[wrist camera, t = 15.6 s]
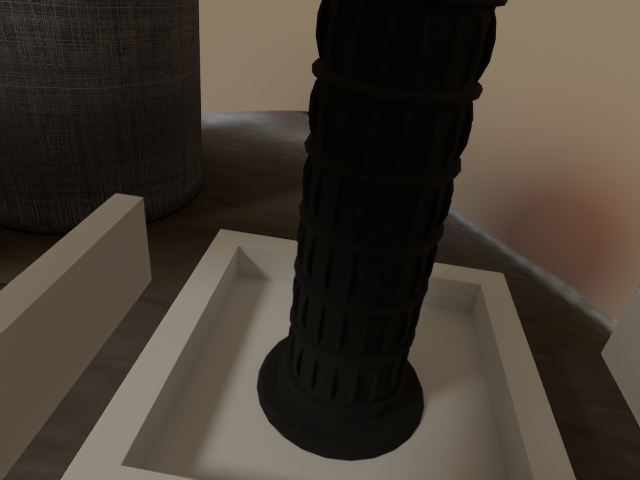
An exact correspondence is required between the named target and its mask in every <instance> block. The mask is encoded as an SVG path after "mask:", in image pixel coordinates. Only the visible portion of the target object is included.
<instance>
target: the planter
mask: <svg viewBox="0 0 640 480" xmlns="http://www.w3.org/2000/svg"><path fill="white" fill-rule="evenodd" d="M200 89H201V88H200V42H199V0H0V225H3V226H6V227H10V228H14V229H19V230H24V231H31V232H39V233H53V234H68V233H69V232H70V231H72V230H73V229H74V228H75V227H76V226H77V225H79V224H80V223H81V222H82V221H83V220H85V219H86V218H87V217H88V216H89V215H90V214H92V213H93V212H94V211H95V210H96V209H98V208H99V207H100V206H101V205H102V204H103V203H105V202H106V201H107V200H108V199H109V198H111V197H112V196H113V195H114V194H115V193H118V194H124V195H131V196H138V197H143V201H144V211H145V221H146V222H149V221H152V220H155V219H158V218H161V217H163V216H165V215H168V214H170V213H172V212H174V211H176V210H178V209H179V208H181V207H183V206H184V205H185V204H187V203H188V202H189V201H191V200H192V199H193V198H194V197H195V196H196V194H197V193H198V192H199V190H200V188H201V186H202V181H203V177H202V150H201V91H200Z"/></svg>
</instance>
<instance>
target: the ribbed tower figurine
mask: <svg viewBox="0 0 640 480" xmlns="http://www.w3.org/2000/svg"><path fill="white" fill-rule="evenodd" d="M507 1H508V0H322V1H321V4H320V7H319V10H318V15H317V26H316V40H317V46H318V52H319V57H320V58H318V59H317V60H316V61H315V62H314V63H313V64H312V72H313V74H314V76H315V77H317V80H316V81H315V84H314V86H313V89H312V92H311V95H310V104H309V112H308V115H309V125H310V131H311V133H310V134H309V136H308V138H307V139H306V141H305V143H304V145H305V149H306V152H307V153H308V154H309V155H308V157H307V160H306V162H305V164H304V170H303V179H302V184H303V193H302V194H303V199H302V201H301V203H300V205H299V210H300V218H301V221H300V224H299V227H298V235H297V243H298V245H297V256H296V258H295V262H294V269H295V277H294V280H293V289H292V291H293V302H292V306H291V308H290V318H289V320H290V323H291V325H290V327H289V335H288V336H287V337H285V338H284V339H282V340H281V341H279V342H278V343H277V344H276V345H275V346H274V347H273V348H272V350H271V351H270V352H269V353H268V354H267V355H266V357H265V359H264V361H263V363H262V365H261V367H260V370H259V374H258V380H257V392H258V398H259V403H260V406H261V408H262V410H263V412H264V414H265V416H266V417H267V419H268V421H269V423H270V424H271V425H272V426H273V427H274V428H275V429H276V430H277V431H278V432H279V433H280V434H281V435H282V436H283V437H284V438H285V439H287V440H289V441H290V442H292V443H293V444H295V445H296V446H298V447H299V448H301V449H302V450H305V451H307V452H310V453H313V454H316V455H318V456H321V457H324V458H328V459H336V460H345V461H356V460H365V459H374V458H377V457H379V456H382V455H384V454H387V453H389V452H392V451H394V450H395V449H397V448H398V447H399V446H401V445H402V444H403V443H405V442H406V441H407V440H409V439H410V438H411V436H412V435H413V433H414V432H415V430H416V429H417V427H418V426H419V424H420V422H421V418H422V414H423V410H424V396H423V389H422V386H421V384H420V381H419V378H418V376H417V374H416V371H415V369H414V368H413V366H412V365H411V364H410V362H409V361H408V360H407V358H408V355H409V351H410V347H411V346H412V344H413V341H414V338H415V335H416V329H415V328H416V327H417V324H418V320H419V316H420V310H421V307H422V304H423V299H424V297H425V295H426V293H427V291H428V283H429V277H430V276H431V273H432V269H433V265H434V260H435V256H436V253H437V242H438V241H439V240H440V239H441V238H442V236H443V233H444V225H443V222H444V220H445V219H446V217H447V215H448V212H449V208H450V204H451V198H452V194H453V191H454V186H453V179H454V178H455V177H456V176H457V175H458V174H459V173H460V171H461V159H460V158H459V157H460V155H461V154H462V152H463V151H464V149H465V147H466V146H467V143H468V138H469V135H470V131H471V127H472V121H473V102H472V101H473V100H476V99H478V98H479V97H480V95H481V93H482V90H483V88H482V85H480V83H479V82H478V80H479V79H480V77H481V76H482V74H483V72H484V70H485V69H486V67H487V65H488V64H489V62H490V59H491V55H492V51H493V48H494V44H495V40H496V16H495V11H494V10H495V8H496V7H497V6H504V5H505V4H506V2H507Z"/></svg>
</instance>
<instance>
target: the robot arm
mask: <svg viewBox="0 0 640 480" xmlns="http://www.w3.org/2000/svg"><path fill="white" fill-rule="evenodd" d="M151 280H152V279H151V269H150V260H149V250H148V240H147V230H146V221H145V211H144V201H143V197H138V196H131V195H124V194H118V193H115V194H114V195H113V196H112V197H111V198H109V199H108V200H107V201H106V202H105V203H103V204H102V205H101V206H100V207H99V208H98V209H96V210H95V211H94V212H93V213H92V214H90V215H89V216H88V217H87V218H86V219H85V220H83V221H82V222H81V223H80V224H79V225H77V226H76V227H75V228H74V229H73V230H72V231H70V232H69V233H68V234H67V235H66V236H64V237H63V238H62V239H61V240H60V241H59V242H57V243H56V244H55V245H54V246H53V247H51V248H50V249H49V250H48V251H47V252H46V253H44V254H43V255H42V256H41V257H40V258H38V259H37V260H36V261H35V262H34V263H33V264H31V265H30V266H29V267H28V268H27V269H25V270H24V271H23V272H22V273H21V274H20V275H18V276H17V277H16V278H15V279H14V280H12V281H11V282H10V283H9V284H5V283H0V480H3V478H4V477H5V476H6V474H7V473H8V472H9V470H10V469H11V467H12V466H13V465H14V463H15V462H16V461H17V459H18V458H19V457H20V455H21V454H22V453H23V451H24V450H25V449H26V447H27V446H28V445H29V443H30V442H31V441H32V439H33V438H34V437H35V435H36V434H37V433H38V431H39V430H40V429H41V427H42V426H43V425H44V423H45V422H46V421H47V419H48V418H49V417H50V415H51V414H52V413H53V411H54V410H55V409H56V407H57V406H58V405H59V403H60V402H61V401H62V399H63V398H64V397H65V395H66V394H67V393H68V391H69V390H70V389H71V387H72V386H73V385H74V383H75V382H76V381H77V379H78V378H79V377H80V375H81V374H82V373H83V371H84V370H85V369H86V367H87V366H88V365H89V363H90V362H91V361H92V359H93V358H94V357H95V355H96V354H97V353H98V351H99V350H100V349H101V347H102V346H103V345H104V343H105V342H106V341H107V339H108V338H109V336H110V335H111V334H112V332H113V331H114V330H115V328H116V327H117V326H118V324H119V323H120V322H121V320H122V319H123V318H124V316H125V315H126V314H127V312H128V311H129V310H130V308H131V307H132V306H133V304H134V303H135V302H136V300H137V299H138V298H139V296H140V295H141V294H142V292H143V291H144V290H145V288H146V287H147V286H148V284H149V283H150V282H151ZM601 355H602V357H603V359H604V360H605V362H606V364H607V366H608V368H609V370H610V372H611V374H612V375H613V377H614V379H615V381H616V383H617V385H618V387H619V389H620V390H621V392H622V394H623V396H624V398H625V400H626V402H627V404H628V406H629V407H630V409H631V411H632V413H633V415H634V417H635V419H636V421H637V422H638V424H639V426H640V285H639V287H638V288H637V290H636V292H635V294H634V296H633V297H632V299H631V301H630V303H629V304H628V306H627V308H626V310H625V311H624V313H623V315H622V317H621V319H620V320H619V322H618V324H617V326H616V327H615V329H614V331H613V333H612V335H611V336H610V338H609V340H608V342H607V343H606V345H605V347H604V349H603V351H602V352H601Z"/></svg>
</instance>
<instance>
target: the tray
mask: <svg viewBox="0 0 640 480" xmlns="http://www.w3.org/2000/svg"><path fill="white" fill-rule="evenodd" d="M297 245H298V243H297V241H294V240H288V239H281V238H275V237H268V236H262V235H256V234H249V233H243V232H237V231H230V230H224V229H220V231H219V232H218V234H217V235H216V237H215V239H214V240H213V242H212V243H211V245H210V246H209V248H208V250H207V251H206V253H205V254H204V256H203V257H202V259H201V261H200V262H199V264H198V265H197V267H196V268H195V270H194V272H193V273H192V275H191V276H190V278H189V279H188V281H187V282H186V284H185V286H184V287H183V289H182V290H181V292H180V293H179V295H178V297H177V298H176V300H175V301H174V303H173V304H172V306H171V308H170V309H169V311H168V312H167V314H166V315H165V317H164V319H163V320H162V322H161V323H160V325H159V326H158V328H157V330H156V331H155V333H154V334H153V336H152V337H151V339H150V341H149V342H148V344H147V345H146V347H145V348H144V350H143V351H142V353H141V355H140V356H139V358H138V359H137V361H136V362H135V364H134V366H133V367H132V369H131V370H130V372H129V373H128V375H127V377H126V378H125V380H124V381H123V383H122V384H121V386H120V388H119V389H118V391H117V392H116V394H115V395H114V397H113V399H112V400H111V402H110V403H109V405H108V406H107V408H106V409H105V411H104V413H103V414H102V416H101V417H100V419H99V420H98V422H97V424H96V425H95V427H94V428H93V430H92V431H91V433H90V435H89V436H88V438H87V439H86V441H85V442H84V444H83V446H82V447H81V449H80V450H79V452H78V453H77V455H76V457H75V458H74V460H73V461H72V463H71V464H70V466H69V467H68V469H67V471H66V472H65V474H64V475H63V477H62V478H61V480H576V478H575V475H574V472H573V470H572V467H571V464H570V461H569V458H568V455H567V453H566V450H565V447H564V444H563V441H562V438H561V436H560V433H559V430H558V427H557V424H556V421H555V419H554V416H553V413H552V410H551V407H550V404H549V402H548V399H547V396H546V393H545V390H544V387H543V385H542V382H541V379H540V376H539V373H538V370H537V368H536V365H535V362H534V359H533V356H532V354H531V351H530V348H529V345H528V342H527V339H526V337H525V334H524V331H523V328H522V325H521V322H520V320H519V317H518V314H517V311H516V308H515V305H514V303H513V300H512V297H511V294H510V291H509V288H508V286H507V283H506V280H505V277H504V274H503V273H498V272H492V271H485V270H479V269H473V268H466V267H460V266H453V265H447V264H441V263H434V265H433V269H432V273H431V276H430V277H429V283H428V291H427V293H426V295H425V297H424V299H423V304H422V307H421V310H420V316H419V320H418V324H417V327H416V328H415V329H416V335H415V338H414V341H413V344H412V346H411V347H410V351H409V355H408V358H407V360H408V361H409V362H410V364H411V365H412V366H413V368H414V369H415V371H416V374H417V376H418V378H419V381H420V384H421V386H422V389H423V396H424V410H423V414H422V418H421V422H420V424H419V426H418V427H417V429H416V430H415V432H414V433H413V435H412V436H411V438H410V439H409V440H407V441H406V442H405V443H403V444H402V445H401V446H399V447H398V448H397V449H395V450H394V451H392V452H389V453H387V454H384V455H382V456H379V457H377V458H374V459H365V460H356V461H345V460H336V459H328V458H324V457H321V456H318V455H316V454H313V453H310V452H307V451H305V450H302V449H301V448H299V447H298V446H296V445H295V444H293V443H292V442H290V441H289V440H287V439H285V438H284V437H283V436H282V435H281V434H280V433H279V432H278V431H277V430H276V429H275V428H274V427H273V426H272V425H271V424H270V423H269V421H268V419H267V417H266V416H265V414H264V412H263V410H262V408H261V406H260V403H259V398H258V392H257V380H258V374H259V370H260V367H261V365H262V363H263V361H264V359H265V357H266V355H267V354H268V353H269V352H270V351H271V350H272V348H273V347H274V346H275V345H276V344H277V343H278V342H279V341H281V340H282V339H284V338H285V337H287V336H288V335H289V327H290V325H291V323H290V320H289V318H290V308H291V306H292V302H293V291H292V289H293V280H294V277H295V269H294V262H295V258H296V256H297Z"/></svg>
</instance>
